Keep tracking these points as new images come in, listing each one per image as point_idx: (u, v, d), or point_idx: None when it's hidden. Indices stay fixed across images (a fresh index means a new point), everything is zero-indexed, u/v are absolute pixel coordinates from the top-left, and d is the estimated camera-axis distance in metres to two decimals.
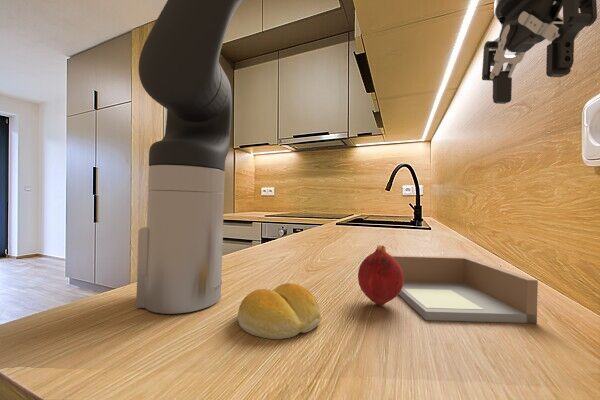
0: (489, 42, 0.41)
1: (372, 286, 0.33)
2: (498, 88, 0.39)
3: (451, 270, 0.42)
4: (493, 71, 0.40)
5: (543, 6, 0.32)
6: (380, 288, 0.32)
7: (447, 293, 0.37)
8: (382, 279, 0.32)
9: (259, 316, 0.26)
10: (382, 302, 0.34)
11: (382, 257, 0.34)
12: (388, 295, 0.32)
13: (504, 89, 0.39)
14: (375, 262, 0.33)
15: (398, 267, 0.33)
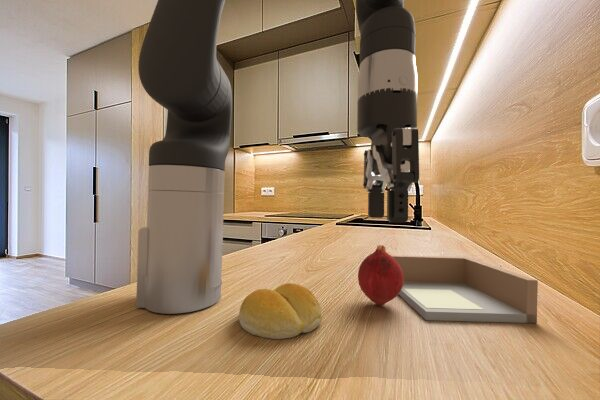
0: (366, 152, 0.41)
1: (372, 286, 0.33)
2: (371, 204, 0.39)
3: (451, 270, 0.42)
4: (367, 185, 0.39)
5: (386, 147, 0.32)
6: (380, 288, 0.32)
7: (447, 293, 0.37)
8: (382, 279, 0.32)
9: (260, 316, 0.26)
10: (382, 302, 0.34)
11: (382, 257, 0.34)
12: (388, 295, 0.32)
13: (376, 205, 0.39)
14: (375, 262, 0.33)
15: (398, 267, 0.33)
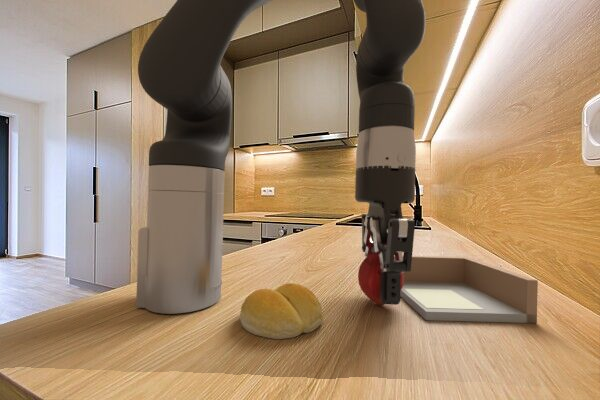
0: (364, 215, 0.41)
1: (372, 286, 0.33)
2: None
3: (451, 270, 0.42)
4: (366, 251, 0.38)
5: (382, 224, 0.32)
6: None
7: (447, 293, 0.37)
8: None
9: (261, 316, 0.26)
10: None
11: None
12: None
13: None
14: (375, 262, 0.33)
15: None
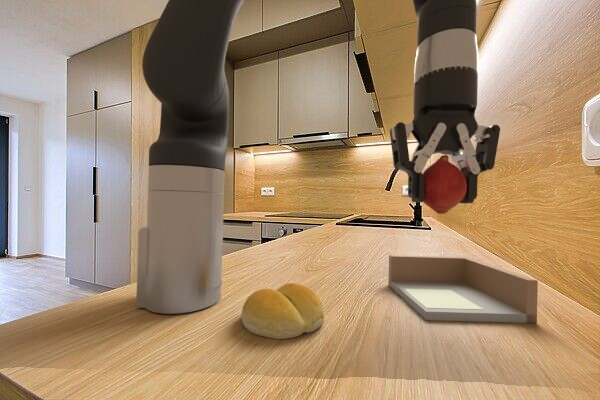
0: None
1: None
2: None
3: (451, 270, 0.42)
4: None
5: None
6: None
7: (447, 293, 0.37)
8: None
9: (263, 316, 0.26)
10: (431, 207, 0.36)
11: (431, 165, 0.36)
12: None
13: None
14: None
15: (437, 172, 0.34)
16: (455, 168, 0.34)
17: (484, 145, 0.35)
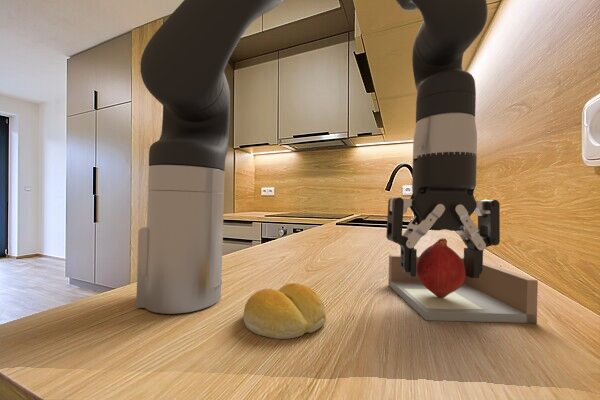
0: None
1: None
2: (465, 260, 0.36)
3: None
4: None
5: None
6: (417, 272, 0.36)
7: None
8: (417, 264, 0.36)
9: (265, 316, 0.26)
10: (429, 290, 0.35)
11: (429, 247, 0.35)
12: (421, 281, 0.35)
13: (468, 262, 0.35)
14: None
15: (436, 260, 0.33)
16: (453, 256, 0.33)
17: (486, 220, 0.35)
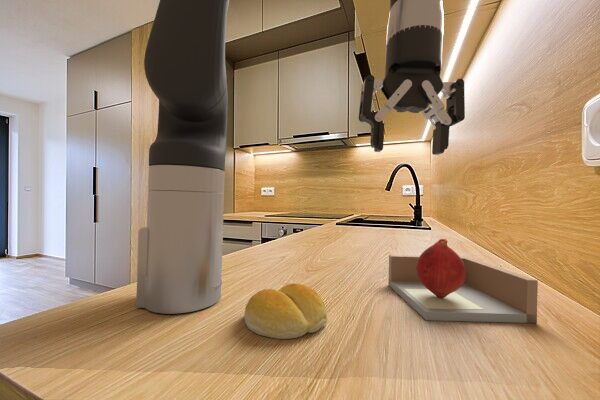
0: None
1: None
2: (433, 141, 0.38)
3: None
4: None
5: None
6: (417, 272, 0.36)
7: None
8: (417, 264, 0.36)
9: (266, 316, 0.26)
10: (429, 290, 0.35)
11: (430, 247, 0.36)
12: (421, 280, 0.35)
13: (436, 140, 0.38)
14: None
15: (436, 259, 0.34)
16: (454, 256, 0.34)
17: (452, 99, 0.37)
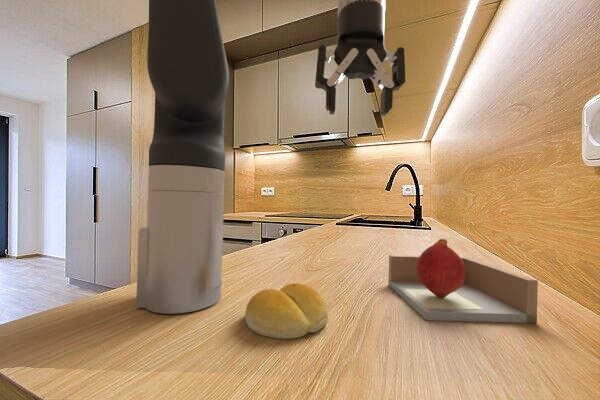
0: None
1: None
2: (381, 104, 0.44)
3: None
4: None
5: None
6: (417, 272, 0.36)
7: None
8: (417, 264, 0.36)
9: (267, 316, 0.26)
10: (429, 290, 0.35)
11: (430, 247, 0.36)
12: (421, 280, 0.35)
13: (382, 102, 0.43)
14: None
15: (436, 259, 0.34)
16: (454, 256, 0.34)
17: (395, 66, 0.42)
